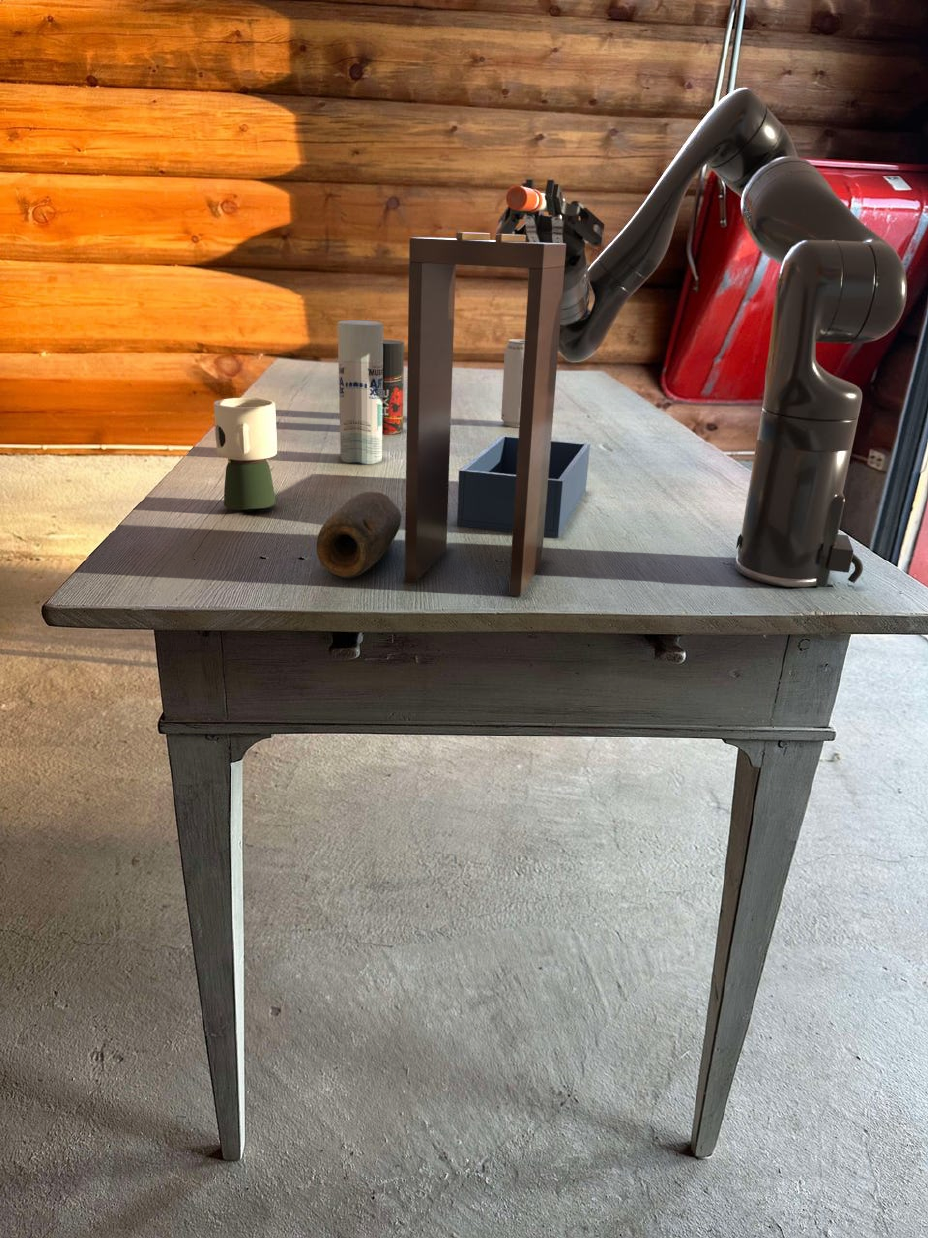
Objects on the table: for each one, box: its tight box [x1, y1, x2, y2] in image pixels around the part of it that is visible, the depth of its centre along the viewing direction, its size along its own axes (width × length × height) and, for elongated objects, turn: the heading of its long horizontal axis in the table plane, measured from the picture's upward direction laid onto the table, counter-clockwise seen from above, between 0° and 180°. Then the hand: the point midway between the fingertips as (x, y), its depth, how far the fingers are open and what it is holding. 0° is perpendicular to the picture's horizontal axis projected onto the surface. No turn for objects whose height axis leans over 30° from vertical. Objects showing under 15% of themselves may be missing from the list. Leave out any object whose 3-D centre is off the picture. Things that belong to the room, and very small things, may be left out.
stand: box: [403, 231, 566, 598], centre depth 89 cm, size 12×11×33 cm
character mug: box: [213, 397, 278, 513], centre depth 110 cm, size 11×7×13 cm, turn 9°
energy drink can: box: [500, 338, 525, 428], centre depth 166 cm, size 6×6×15 cm
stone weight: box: [315, 491, 402, 579], centre depth 96 cm, size 15×7×7 cm, turn 176°
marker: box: [505, 185, 548, 213], centre depth 98 cm, size 17×2×2 cm, turn 164°
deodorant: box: [382, 339, 405, 435], centre depth 157 cm, size 6×6×15 cm
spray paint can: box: [337, 319, 384, 465], centre depth 135 cm, size 6×6×20 cm
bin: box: [456, 435, 591, 539], centre depth 117 cm, size 12×22×7 cm, turn 164°
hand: (539, 186), depth 99 cm, fingers closed on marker, 2 cm apart
